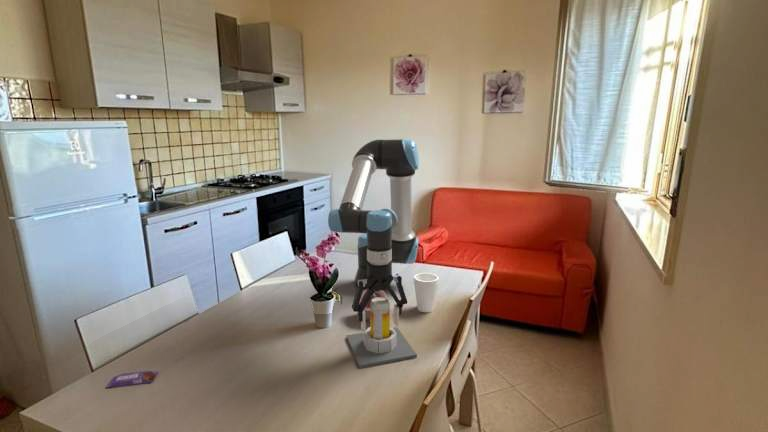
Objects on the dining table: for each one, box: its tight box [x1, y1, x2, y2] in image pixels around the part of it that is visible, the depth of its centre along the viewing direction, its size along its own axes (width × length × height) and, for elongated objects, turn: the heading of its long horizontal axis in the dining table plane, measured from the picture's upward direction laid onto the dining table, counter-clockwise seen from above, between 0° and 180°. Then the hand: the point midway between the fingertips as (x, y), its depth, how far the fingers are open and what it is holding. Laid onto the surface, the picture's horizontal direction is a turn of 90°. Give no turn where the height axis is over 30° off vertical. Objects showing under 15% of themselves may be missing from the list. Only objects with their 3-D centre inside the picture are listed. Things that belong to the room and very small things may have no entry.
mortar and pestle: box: [359, 289, 388, 321], centre depth 147 cm, size 12×12×12 cm
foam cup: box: [413, 272, 440, 313], centre depth 154 cm, size 10×9×13 cm
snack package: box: [106, 370, 159, 388], centre depth 112 cm, size 12×2×5 cm
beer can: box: [369, 297, 391, 340], centre depth 127 cm, size 6×6×15 cm
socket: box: [346, 326, 418, 369], centre depth 128 cm, size 18×18×5 cm
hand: (380, 327), depth 127 cm, fingers open, 10 cm apart
